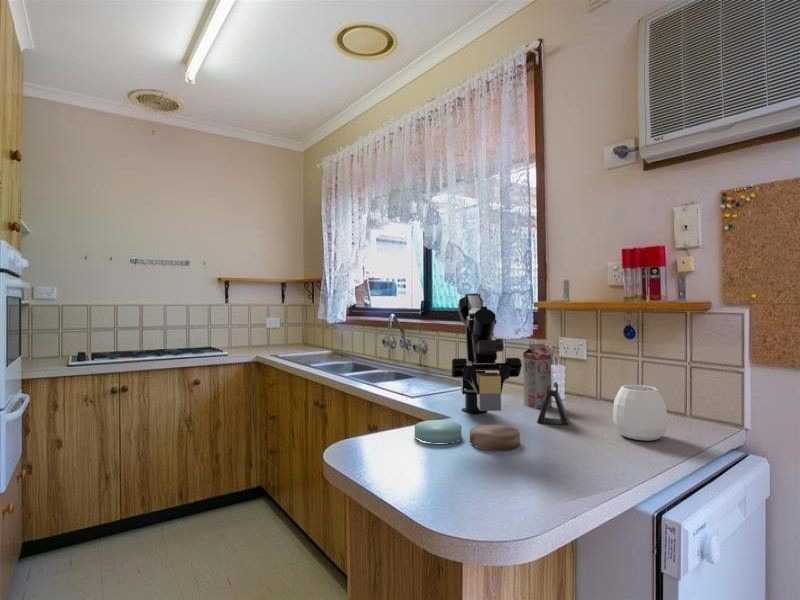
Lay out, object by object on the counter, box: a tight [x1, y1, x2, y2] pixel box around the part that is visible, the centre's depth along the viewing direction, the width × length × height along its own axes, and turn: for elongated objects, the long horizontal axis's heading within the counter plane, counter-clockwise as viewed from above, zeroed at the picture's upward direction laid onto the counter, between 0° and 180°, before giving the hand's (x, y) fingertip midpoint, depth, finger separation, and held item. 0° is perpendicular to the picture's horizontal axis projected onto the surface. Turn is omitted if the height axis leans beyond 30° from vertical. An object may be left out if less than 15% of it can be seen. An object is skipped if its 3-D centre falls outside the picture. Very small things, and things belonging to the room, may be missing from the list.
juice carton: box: [522, 342, 553, 410], centre depth 159 cm, size 7×7×22 cm
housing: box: [477, 372, 502, 412], centre depth 120 cm, size 6×6×9 cm
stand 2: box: [469, 424, 521, 452], centre depth 120 cm, size 13×13×3 cm
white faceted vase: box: [612, 384, 668, 441], centre depth 123 cm, size 13×13×14 cm
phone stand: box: [536, 380, 570, 427], centre depth 139 cm, size 9×6×12 cm, turn 68°
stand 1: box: [414, 419, 463, 444], centre depth 125 cm, size 13×13×3 cm
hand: (489, 393), depth 118 cm, fingers closed on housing, 5 cm apart
